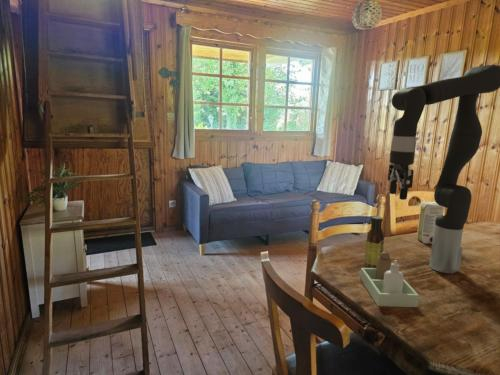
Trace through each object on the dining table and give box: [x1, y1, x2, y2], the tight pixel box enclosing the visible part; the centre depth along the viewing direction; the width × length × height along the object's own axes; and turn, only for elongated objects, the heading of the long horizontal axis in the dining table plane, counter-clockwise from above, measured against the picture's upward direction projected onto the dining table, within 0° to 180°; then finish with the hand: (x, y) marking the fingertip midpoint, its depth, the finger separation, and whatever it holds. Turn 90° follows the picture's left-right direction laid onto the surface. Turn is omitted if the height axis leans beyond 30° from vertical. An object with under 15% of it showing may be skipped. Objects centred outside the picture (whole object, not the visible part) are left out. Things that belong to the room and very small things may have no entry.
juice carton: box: [416, 200, 445, 245], centre depth 152 cm, size 8×9×19 cm
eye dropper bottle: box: [382, 259, 405, 293], centre depth 102 cm, size 4×6×12 cm
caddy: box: [359, 251, 420, 308], centre depth 107 cm, size 12×18×12 cm, turn 179°
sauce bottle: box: [364, 215, 385, 268], centre depth 124 cm, size 7×6×20 cm
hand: (397, 196), depth 112 cm, fingers open, 8 cm apart
